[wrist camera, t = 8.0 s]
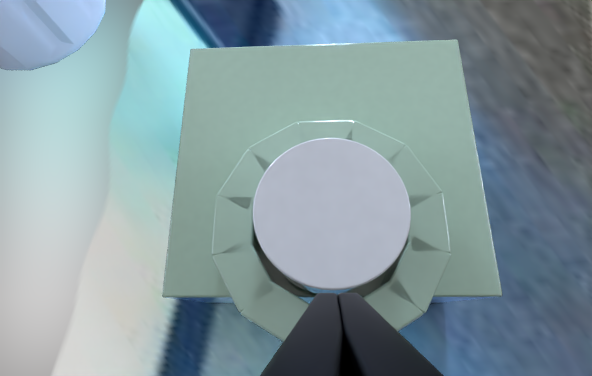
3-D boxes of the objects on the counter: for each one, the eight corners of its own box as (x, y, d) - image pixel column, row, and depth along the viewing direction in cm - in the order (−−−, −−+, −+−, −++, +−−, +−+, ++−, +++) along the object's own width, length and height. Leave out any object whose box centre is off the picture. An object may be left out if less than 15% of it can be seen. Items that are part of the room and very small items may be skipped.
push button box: (448, 336, 17) (548, 352, 9) (206, 335, 17) (128, 350, 10) (420, 112, 20) (476, 3, 13) (222, 117, 21) (174, 15, 14)
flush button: (400, 294, 10) (419, 289, 9) (261, 294, 11) (249, 290, 9) (389, 164, 12) (403, 135, 10) (264, 167, 12) (255, 138, 10)
